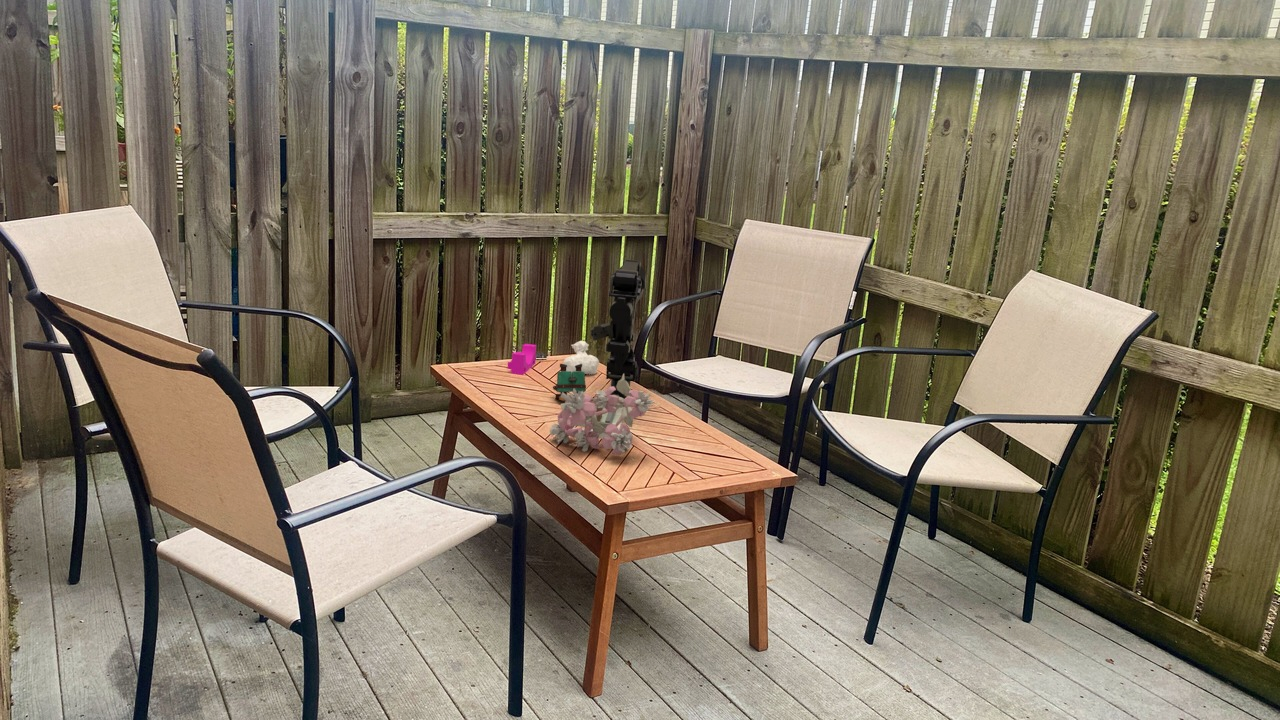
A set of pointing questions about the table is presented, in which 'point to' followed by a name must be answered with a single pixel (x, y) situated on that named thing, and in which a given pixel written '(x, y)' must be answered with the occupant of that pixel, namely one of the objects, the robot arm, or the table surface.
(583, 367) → the white tied sack
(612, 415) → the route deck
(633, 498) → the table surface
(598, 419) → the walnut block
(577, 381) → the binoculars
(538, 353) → the car cutout
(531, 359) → the toy block
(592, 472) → the table surface
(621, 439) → the flower
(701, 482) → the table surface
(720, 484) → the table surface
